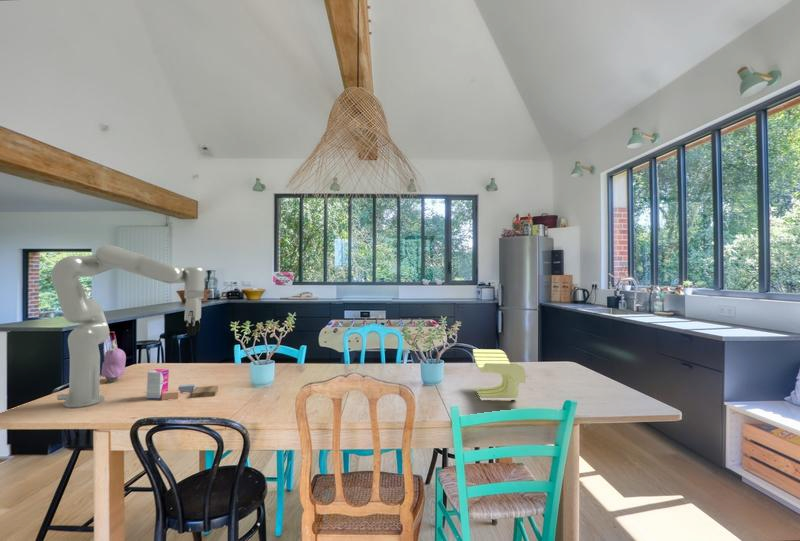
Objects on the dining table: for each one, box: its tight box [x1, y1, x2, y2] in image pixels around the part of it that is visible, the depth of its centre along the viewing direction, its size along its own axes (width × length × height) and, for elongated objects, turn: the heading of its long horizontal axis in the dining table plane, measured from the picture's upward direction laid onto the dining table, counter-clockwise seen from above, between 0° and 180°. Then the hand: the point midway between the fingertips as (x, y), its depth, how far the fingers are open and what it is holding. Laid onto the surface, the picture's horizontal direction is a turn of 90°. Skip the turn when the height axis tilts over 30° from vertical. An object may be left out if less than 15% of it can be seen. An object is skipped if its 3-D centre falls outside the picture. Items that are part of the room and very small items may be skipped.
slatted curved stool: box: [472, 348, 526, 399], centre depth 165 cm, size 30×16×18 cm, turn 178°
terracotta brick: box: [161, 389, 181, 401], centre depth 159 cm, size 6×3×3 cm, turn 107°
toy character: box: [100, 339, 127, 383], centre depth 186 cm, size 12×10×20 cm
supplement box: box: [145, 368, 170, 400], centre depth 161 cm, size 6×6×12 cm
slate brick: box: [177, 383, 196, 394], centre depth 169 cm, size 6×3×3 cm, turn 108°
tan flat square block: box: [191, 385, 219, 399], centre depth 166 cm, size 9×9×2 cm
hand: (193, 333), depth 165 cm, fingers open, 9 cm apart
